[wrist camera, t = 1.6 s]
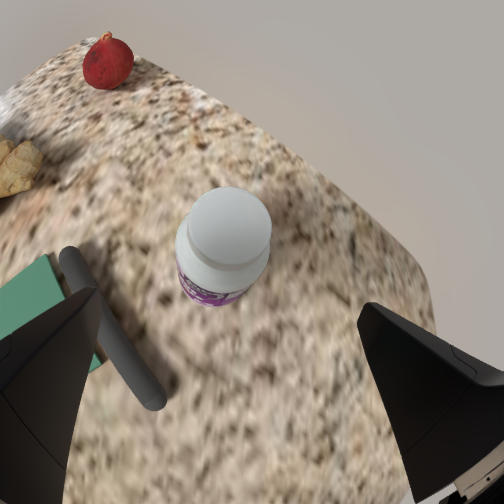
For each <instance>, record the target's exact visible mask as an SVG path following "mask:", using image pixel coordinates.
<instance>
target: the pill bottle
mask: <svg viewBox="0 0 504 504" xmlns="http://www.w3.org/2000/svg"><path fill="white" fill-rule="evenodd" d="M271 234H272V223H271V218H270V215H269V213H268V211H267V209H266V207H265V206H264V204H263V203H262V202H261V201H260V200H259V199H258V198H257V197H256V196H255V195H253V194H251V193H250V192H248V191H246V190H243V189H240V188H236V187H219V188H215V189H212V190H210V191H208V192H206V193H204V194H203V195H202V196H200V197H199V198H198V199H197V201H196V202H195V203H194V205H193V206H192V208H191V211H190V212H189V213H188V214H187V215H186V216H185V218H184V219H183V221H182V222H181V224H180V226H179V228H178V231H177V234H176V240H175V253H176V262H177V270H178V276H179V281H180V284H181V287H182V289H183V290H184V292H185V293H186V295H187V296H188V297H189V298H190V299H191V300H193V301H194V302H196V303H198V304H200V305H202V306H205V307H213V308H215V307H222V306H225V305H228V304H230V303H232V302H234V301H235V300H236V299H237V298H238V297H239V296H240V295H242V294H243V293H244V292H245V291H246V290H247V289H248V288H249V286H251V284H253V283H254V282H255V281H256V280H257V279H258V278H259V277H260V275H261V274H262V272H263V271H264V269H265V267H266V265H267V262H268V259H269V254H270V238H271Z"/></svg>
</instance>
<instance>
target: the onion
mask: <svg viewBox="0 0 504 504" xmlns="http://www.w3.org/2000/svg"><path fill="white" fill-rule="evenodd" d="M133 63H134V56H133V52H132V51H131V49H130V48H129V47H128V45H127V44H126V43H124V42H123V41H121V40H119V39H115V38H112V33H110V32H105V33H103V35H102V36H101V37H100V39H99V40H98V41H97V42H96V43H95V44H94V45H93V46H92V47H91V48H90V50H89V51H88V52H87V54H86V56H85V58H84V61H83V74H84V78H85V80H86V82H87V83H88V84H89V85H91V86H92V87H94V88H96V89H104V90H107V89H114V88H116V87H117V86H118V85H119V84H121V83H122V82H123V81H124V80H125V79H126V78H127V77H128V76H129V75H130V73H131V71H132V68H133Z"/></svg>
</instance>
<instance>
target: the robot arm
mask: <svg viewBox="0 0 504 504" xmlns="http://www.w3.org/2000/svg"><path fill="white" fill-rule="evenodd" d="M101 318H102V304H101V298H100V291H99V289H98V288H97V287H90V286H86V287H84V288H82V289H81V290H79V291H77V292H76V293H74V294H72V295H71V296H69V297H67V298H66V299H64V300H62V301H61V302H59V303H57V304H56V305H54V306H53V307H51V308H49V309H48V310H46V311H44V312H43V313H41V314H40V315H38V316H37V317H35V318H33V319H32V320H30V321H29V322H27V323H25V324H24V325H22V326H21V327H19V328H18V329H16V330H15V331H13V332H12V333H11V334H9V335H7V336H6V337H4V338H3V339H1V340H0V504H62V500H63V491H64V483H65V476H66V468H67V462H68V456H69V451H70V445H71V440H72V435H73V431H74V426H75V422H76V417H77V413H78V409H79V405H80V401H81V397H82V394H83V390H84V386H85V383H86V379H87V376H88V372H89V369H90V366H91V362H92V359H93V355H94V351H95V346H96V341H97V336H98V331H99V327H100V322H101ZM357 328H358V331H359V335H360V338H361V341H362V345H363V348H364V352H365V355H366V359H367V362H368V364H369V367H370V370H371V372H372V375H373V377H374V380H375V382H376V385H377V388H378V390H379V393H380V396H381V398H382V401H383V404H384V407H385V410H386V412H387V415H388V418H389V421H390V424H391V427H392V430H393V432H394V435H395V438H396V441H397V444H398V448H399V451H400V454H401V456H402V461H403V464H404V467H405V470H406V474H407V477H408V481H409V484H410V488H411V491H412V495H413V499H414V502H415V503H416V504H417V503H419V502H421V501H423V500H425V499H427V498H428V497H430V496H432V495H434V494H435V493H437V492H439V491H440V490H442V489H444V488H445V487H447V486H449V485H450V484H452V483H453V482H454V484H455V486H456V488H457V490H456V491H455V492H453V493H452V494H450V495H449V496H447V497H445V498H444V499H442V500H441V501H439V504H504V371H501V370H498V369H496V368H494V367H492V366H490V365H488V364H486V363H484V362H482V361H480V360H478V359H476V358H475V357H472V356H471V355H469V354H467V353H465V352H463V351H461V350H460V349H458V348H456V347H454V346H453V345H451V344H450V345H449V343H447V342H445V341H444V340H442V339H440V338H439V337H437V336H435V335H433V334H432V333H430V332H428V331H426V330H424V329H423V328H421V327H419V326H417V325H416V324H414V323H412V322H410V321H408V320H407V319H405V318H403V317H401V316H400V315H398V314H396V313H394V312H392V311H391V310H389V309H387V308H385V307H383V306H382V305H380V304H378V303H376V302H367V303H365V304H364V306H363V308H362V311H361V313H360V316H359V318H358V321H357Z"/></svg>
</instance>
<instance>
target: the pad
mask: <svg viewBox="0 0 504 504" xmlns="http://www.w3.org/2000/svg"><path fill="white" fill-rule="evenodd" d="M64 299H66V296H65V294H64V292H63V289H62V287H61V285H60V283H59V281H58V278H57V276H56V274H55V272H54V269H53V267H52V264H51V262H50V259H49V257H48V255H46V254H44V255H43V256H41V257H40V258H38V259H37V260H36V261H34V262H33V263H32V264H30V265H29V266H28V267H27V268H25V269H24V270H23V271H21V272H20V273H19V274H18V275H16V276H15V277H14V278H13V279H11V280H10V281H9V282H8V283H6V284H5V285H4V286H3V287H2V288H0V340H1V339H3V338H4V337H6V336H7V335H9V334H11V333H12V332H13V331H15V330H16V329H18V328H19V327H21V326H22V325H24V324H25V323H27V322H29V321H30V320H32V319H33V318H35V317H37V316H38V315H40V314H41V313H43V312H44V311H46V310H48V309H49V308H51V307H53V306H54V305H56V304H57V303H59V302H61V301H62V300H64ZM102 364H103V363H102V361H101V360H100V358H99V356H98V355H97V353H96V351H94V355H93V359H92V362H91V366H90V369H89V372H88V374H89V373H90V372H92V371H93V370H95V369H96V368H98V367H99V366H101V365H102Z"/></svg>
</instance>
